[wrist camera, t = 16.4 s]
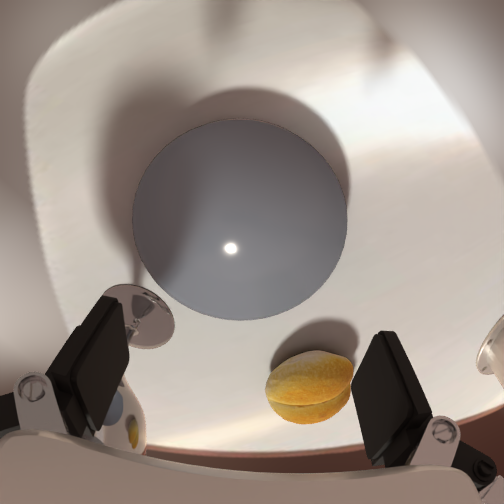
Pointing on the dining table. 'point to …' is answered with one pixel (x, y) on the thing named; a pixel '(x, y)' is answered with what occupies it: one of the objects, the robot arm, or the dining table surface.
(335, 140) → the dining table surface
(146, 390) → the dining table surface
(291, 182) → the plate
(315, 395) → the bread roll
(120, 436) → the wine glass
